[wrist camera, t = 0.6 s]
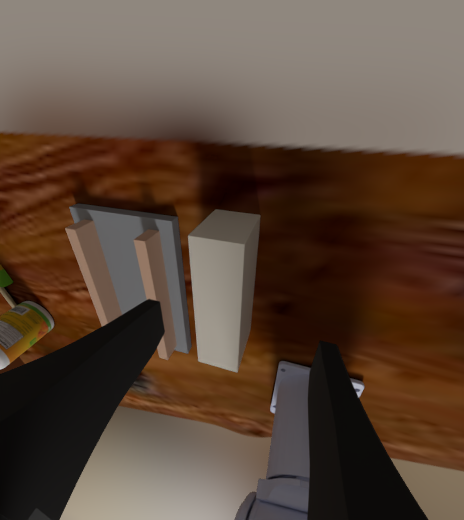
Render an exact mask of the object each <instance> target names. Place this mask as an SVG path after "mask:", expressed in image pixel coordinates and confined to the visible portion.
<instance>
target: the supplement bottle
mask: <svg viewBox="0 0 464 520" xmlns="http://www.w3.org/2000/svg"><path fill="white" fill-rule="evenodd" d="M53 327H54V321H53V318H52V316H51V315H50V314H49V313H48V311H46V310H45V309H44V308H43V307H41V306H40V305H38V304H36V303H34V302H31V301H24V302H22V303H20V304H19V305H17V306H15V307H14V308H12V309H11V310H9V311H8V312H6V313H5V314H3V315H1V316H0V369H3V368H5V367H6V366H7V365H8V364H10V363H11V362H12V361H14V360H15V359H16V358H17V357H18V356H20V355H21V354H22V353H23V352H25V351H26V350H27V349H28V348H30V347H31V346H32V345H33V344H34V343H36V342H37V341H38V340H39V339H40V338H42V337H43V336H44V335H45V334H46V333H48V332H49V331H50V330H51V329H52V328H53Z"/></svg>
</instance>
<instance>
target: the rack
mask: <svg viewBox="0 0 464 520" xmlns="http://www.w3.org/2000/svg"><path fill="white" fill-rule="evenodd" d="M69 208H70V211H71V214H72V216H73V219H74V222H75V224H73V225H71V226H69V227H67V228H65V229H66V232H67V235H68V237H69V240H70V243H71V245H72V248H73V251H74V253H75V256H76V259H77V261H78V264H79V267H80V269H81V272H82V274H83V277H84V280H85V282H86V285H87V288H88V290H89V293H90V296H91V298H92V301H93V304H94V306H95V309H96V312H97V314H98V317H99V320H100V322H101V325H102V327H103V326H104V325H106V324H108V323H109V322H111V321H113V320H114V319H116V318H118V317H119V316H121V315H123V314H124V313H126V312H127V311H129V310H131V309H132V308H134V307H136V306H137V305H139V304H141V303H142V302H144V301H146V300H147V299H152V300H156V301H160V304H161V311H162V317H163V323H164V329H165V333H164V335H163V337H162V339H161V341H160V343H159V345H158V347H157V349H158V353H159V358H163V359H166V360H168V359H169V357H170V356H171V354H172V352H173V351H174V350H176V351H180V352H184V353H187V354H188V352H189V350H190V349H191V347H192V346H191V337H190V328H189V318H188V309H187V300H186V290H185V281H184V271H183V262H182V253H181V243H180V234H179V225H178V217H176V216H168V215H161V214H153V213H146V212H139V211H131V210H124V209H116V208H109V207H101V206H94V205H87V204H79V203H78V204H75V205H73V206H70V207H69Z"/></svg>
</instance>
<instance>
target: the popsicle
mask: <svg viewBox="0 0 464 520" xmlns="http://www.w3.org/2000/svg"><path fill="white" fill-rule="evenodd" d="M12 283H13V281H12V279H11V278H10V277H9V275H8V274H7V272H6V271H5V270H4V268H3V267H2V265H1V264H0V292H1V294H2V295H3V296H4V298H5V299H6V300H7V302H8V303H9V304H10V305H11V307H12V308H14V307H15V306H17V304H16V303H15V302H14V300H13V299H12V298H11V296H10V295H9V294H8V292H7V291H6V290H5V288H4V287H6V286H8V285H10V284H12Z"/></svg>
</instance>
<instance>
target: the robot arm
mask: <svg viewBox="0 0 464 520" xmlns="http://www.w3.org/2000/svg"><path fill="white" fill-rule="evenodd" d="M164 333H165V329H164V323H163V317H162V311H161V304H160V301H156V300H152V299H147V300H146V301H144V302H142V303H141V304H139V305H137V306H136V307H134V308H132V309H131V310H129V311H127V312H126V313H124V314H123V315H121V316H119V317H118V318H116V319H114V320H113V321H111V322H109V323H108V324H106V325H104V326H103V327H101V328H99V329H97V330H95V331H93V332H92V333H90V334H88V335H86V336H84V337H83V338H81V339H79V340H77V341H75V342H73V343H71V344H69V345H67V346H65V347H63V348H61V349H59V350H57V351H55V352H53V353H50V354H48V355H46V356H44V357H41V358H39V359H37V360H34V361H32V362H29V363H27V364H24V365H22V366H20V367H17V368H15V369H12V370H10V371H7V372H4V373H2V374H0V520H59V519H60V517H61V515H62V513H63V511H64V509H65V507H66V504H67V502H68V500H69V498H70V496H71V494H72V492H73V489H74V487H75V485H76V483H77V481H78V479H79V477H80V475H81V473H82V471H83V469H84V467H85V465H86V463H87V461H88V459H89V458H90V456H91V453H92V452H93V450H94V448H95V446H96V444H97V442H98V441H99V439H100V437H101V435H102V433H103V431H104V429H105V428H106V426H107V424H108V422H109V420H110V419H111V417H112V415H113V413H114V412H115V410H116V408H117V407H118V405H119V403H120V402H121V400H122V399H123V397H124V396H125V394H126V393H127V391H128V390H129V388H130V387H131V386H132V384H133V383H134V381H135V380H136V378H137V377H138V375H139V374H140V373H141V371H142V370H143V368H144V367H145V365H146V364H147V362H148V361H149V359H150V358H151V357H152V355H153V354H154V352H155V350H156V348H157V347H158V345H159V343H160V341H161V339H162V337H163V335H164ZM363 390H364V383H363V382H362V381H359V380H355V379H352V378H350V377H349V375H348V372H347V370H346V367H345V365H344V362H343V360H342V357H341V354H340V351H339V348H338V346H337V345H336V344H332V343H328V342H324V341H320V342H319V345H318V348H317V351H316V354H315V357H314V360H313V363H312V366H311V368H309V367H305V366H301V365H298V364H294V363H290V362H286V361H280V362H279V366H278V371H277V376H276V382H275V387H274V392H273V397H272V402H271V408H270V411H271V412H273V413H275V416H274V424H273V431H272V438H271V446H270V453H269V461H268V469H267V476H266V479H259V480H258V486H257V492H251V493H250V494H249V495H248V496H247V497H246V499H245V500H244V501H243V503H242V504H241V506H240V508H239V509H238V512H237V514H236V517H235V520H428V518H427V517H426V515H425V514H424V512H423V511H422V509H421V508H420V506H419V505H418V503H417V502H416V500H415V499H414V497H413V495H412V494H411V492H410V490H409V489H408V487H407V486H406V484H405V482H404V481H403V479H402V477H401V476H400V474H399V473H398V471H397V469H396V467H395V466H394V464H393V462H392V460H391V459H390V457H389V455H388V454H387V452H386V450H385V448H384V446H383V445H382V443H381V441H380V439H379V437H378V435H377V434H376V432H375V430H374V428H373V426H372V424H371V422H370V420H369V418H368V416H367V414H366V412H365V410H364V408H363V406H362V404H361V402H360V399H359V397H360V395H361V393H362V391H363Z"/></svg>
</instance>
